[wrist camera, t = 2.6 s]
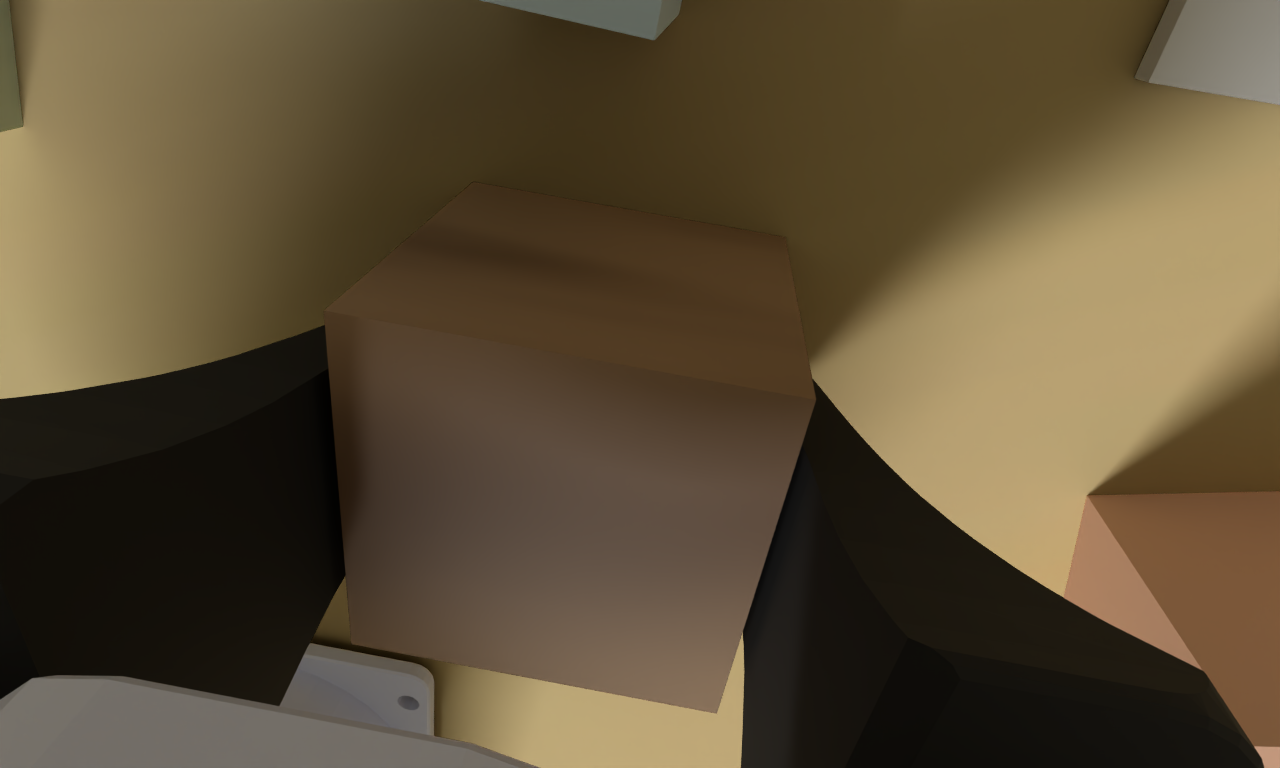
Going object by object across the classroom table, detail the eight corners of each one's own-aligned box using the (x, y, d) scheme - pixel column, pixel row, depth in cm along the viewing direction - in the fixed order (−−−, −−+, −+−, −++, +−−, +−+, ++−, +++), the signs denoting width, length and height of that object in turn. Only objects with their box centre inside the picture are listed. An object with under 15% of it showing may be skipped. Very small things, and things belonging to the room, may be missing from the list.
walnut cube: (721, 483, 14) (717, 713, 10) (466, 436, 14) (351, 644, 10) (784, 236, 12) (816, 400, 7) (474, 181, 12) (323, 310, 7)
